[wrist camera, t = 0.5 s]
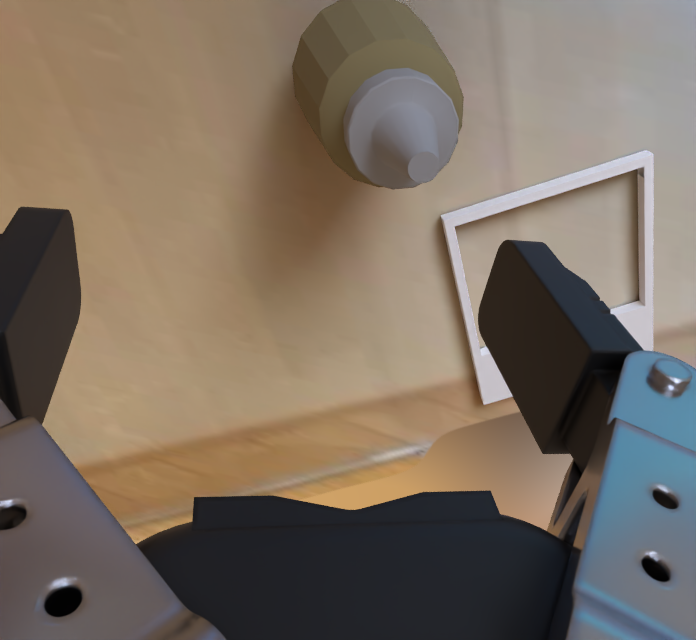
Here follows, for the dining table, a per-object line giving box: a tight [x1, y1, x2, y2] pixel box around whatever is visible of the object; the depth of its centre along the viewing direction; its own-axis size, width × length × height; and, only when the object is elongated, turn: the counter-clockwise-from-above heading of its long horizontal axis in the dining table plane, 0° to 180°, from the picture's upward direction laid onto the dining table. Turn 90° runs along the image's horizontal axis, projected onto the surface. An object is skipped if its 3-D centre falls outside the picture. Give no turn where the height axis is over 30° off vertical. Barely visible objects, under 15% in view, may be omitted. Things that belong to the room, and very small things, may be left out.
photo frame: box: [440, 150, 654, 405], centre depth 47 cm, size 15×1×18 cm
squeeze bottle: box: [292, 0, 464, 189], centre depth 29 cm, size 8×8×18 cm
